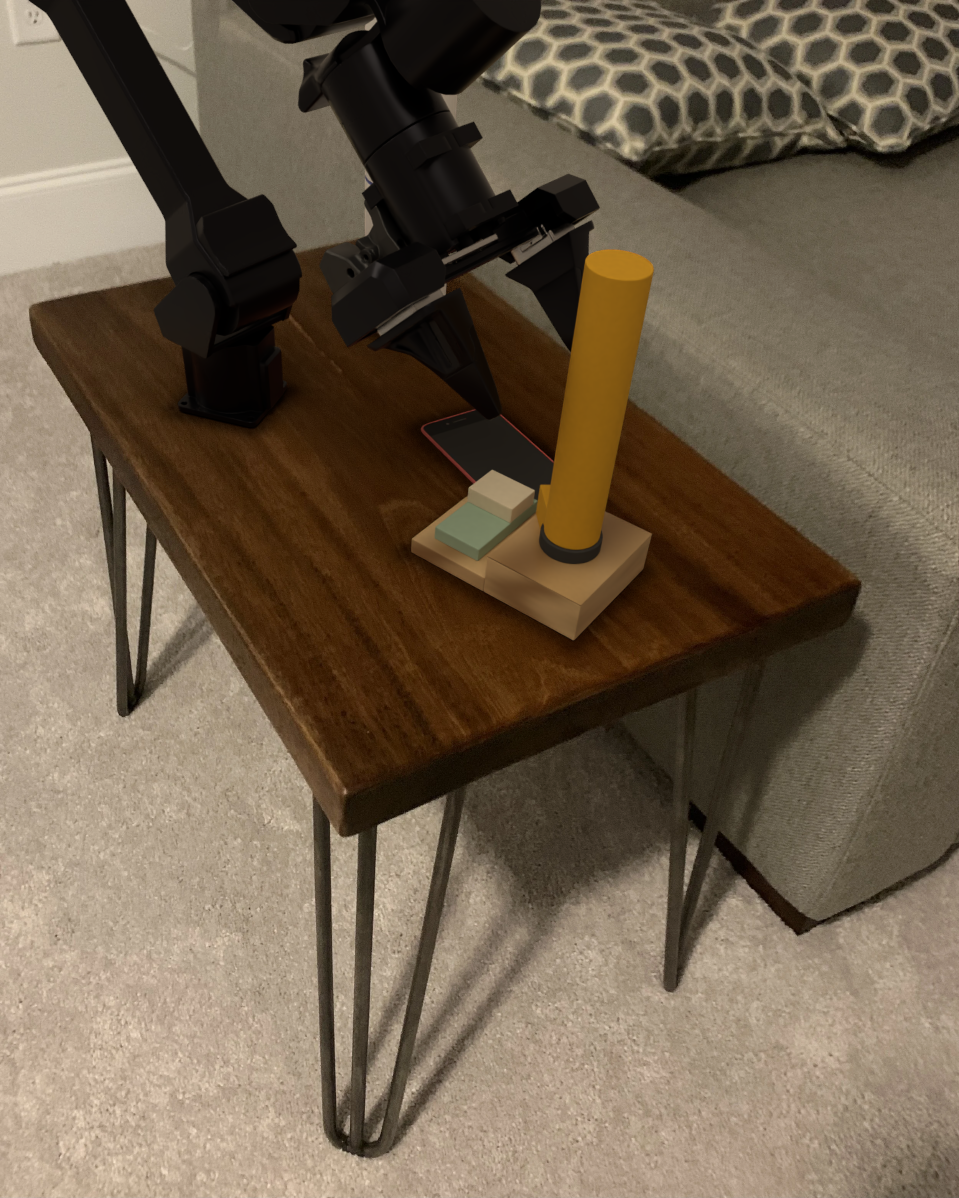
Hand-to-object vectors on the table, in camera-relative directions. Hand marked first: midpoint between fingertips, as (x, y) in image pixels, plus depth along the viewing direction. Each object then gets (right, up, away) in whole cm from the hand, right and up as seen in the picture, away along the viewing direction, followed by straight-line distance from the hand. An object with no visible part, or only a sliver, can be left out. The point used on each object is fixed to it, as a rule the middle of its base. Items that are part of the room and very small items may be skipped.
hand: (542, 386), depth 61 cm
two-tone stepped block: (-3, -8, +9) cm, 12 cm away
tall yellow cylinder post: (+2, -9, +5) cm, 11 cm away
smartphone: (-2, -3, +17) cm, 17 cm away
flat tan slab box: (0, -10, +9) cm, 13 cm away
